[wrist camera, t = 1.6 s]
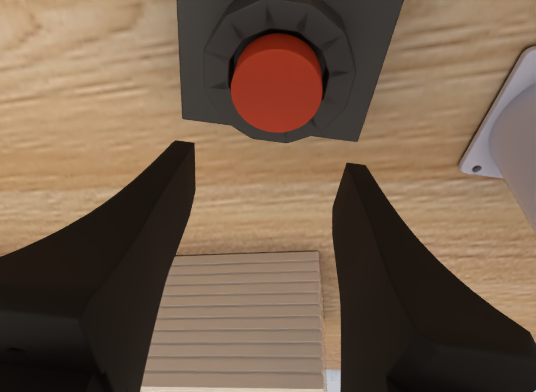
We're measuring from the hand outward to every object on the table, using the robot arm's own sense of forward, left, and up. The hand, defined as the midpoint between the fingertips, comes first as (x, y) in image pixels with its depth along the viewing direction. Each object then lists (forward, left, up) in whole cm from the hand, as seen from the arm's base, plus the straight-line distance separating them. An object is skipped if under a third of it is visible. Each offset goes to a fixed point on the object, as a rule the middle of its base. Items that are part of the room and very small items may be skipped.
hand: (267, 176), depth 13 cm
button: (0, 0, -7) cm, 7 cm away
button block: (0, 0, -10) cm, 10 cm away
